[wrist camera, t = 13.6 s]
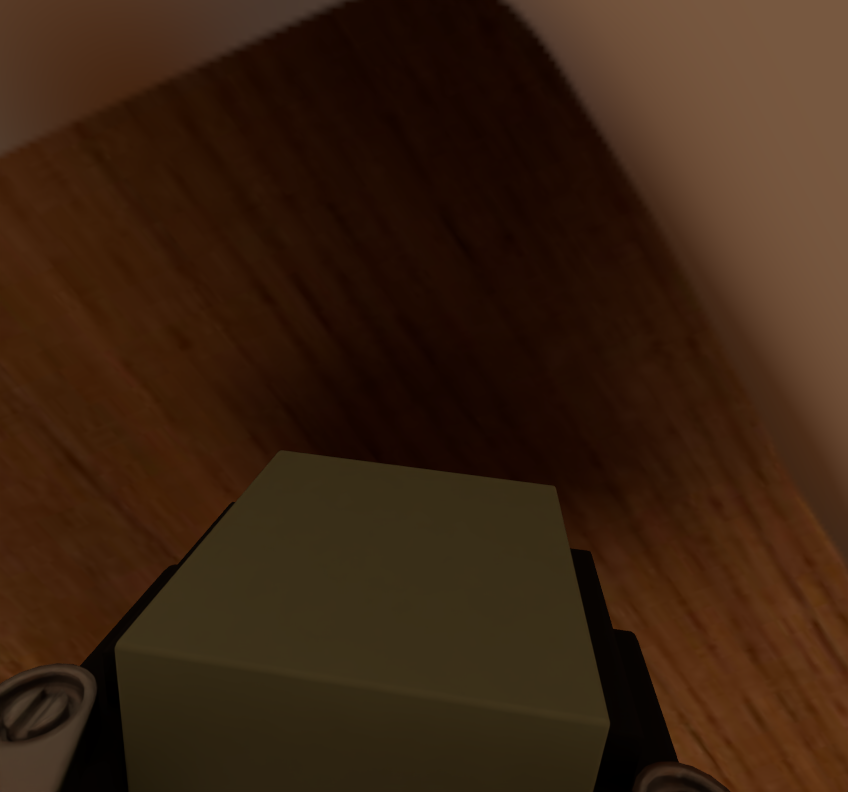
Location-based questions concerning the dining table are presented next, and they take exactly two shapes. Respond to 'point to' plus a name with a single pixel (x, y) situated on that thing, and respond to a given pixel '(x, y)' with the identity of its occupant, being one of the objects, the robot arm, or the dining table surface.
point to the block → (367, 642)
